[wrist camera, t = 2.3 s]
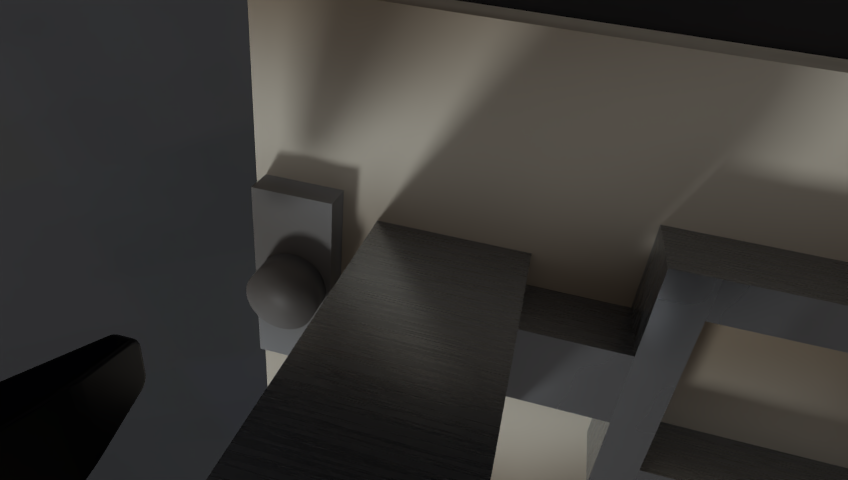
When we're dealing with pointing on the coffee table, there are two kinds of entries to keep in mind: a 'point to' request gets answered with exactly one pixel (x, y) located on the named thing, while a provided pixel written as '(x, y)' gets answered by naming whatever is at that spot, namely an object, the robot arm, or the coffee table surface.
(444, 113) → the tie-down board
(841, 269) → the end link
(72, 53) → the coffee table surface
